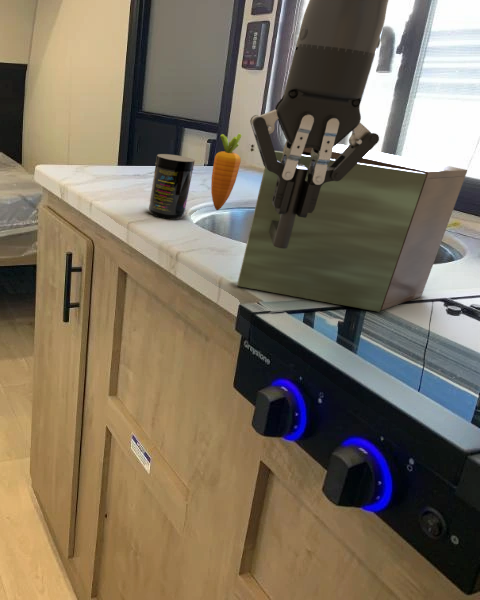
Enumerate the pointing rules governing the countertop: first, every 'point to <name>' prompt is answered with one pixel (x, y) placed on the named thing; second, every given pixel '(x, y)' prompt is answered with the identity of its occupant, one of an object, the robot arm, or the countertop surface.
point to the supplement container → (170, 186)
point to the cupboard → (417, 221)
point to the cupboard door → (332, 236)
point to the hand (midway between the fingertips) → (290, 213)
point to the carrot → (225, 171)
